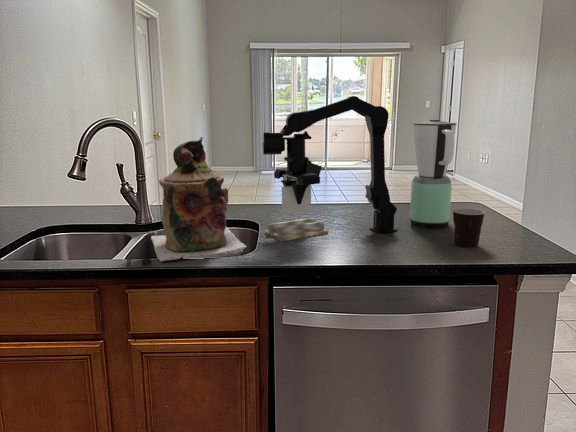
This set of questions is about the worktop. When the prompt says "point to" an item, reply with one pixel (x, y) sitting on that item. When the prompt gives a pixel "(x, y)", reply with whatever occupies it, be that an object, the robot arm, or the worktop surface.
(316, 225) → the track base
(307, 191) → the door panel
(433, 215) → the mint green blender
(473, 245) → the dark brown cup
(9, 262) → the worktop surface
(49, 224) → the worktop surface
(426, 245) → the worktop surface
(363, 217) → the worktop surface
